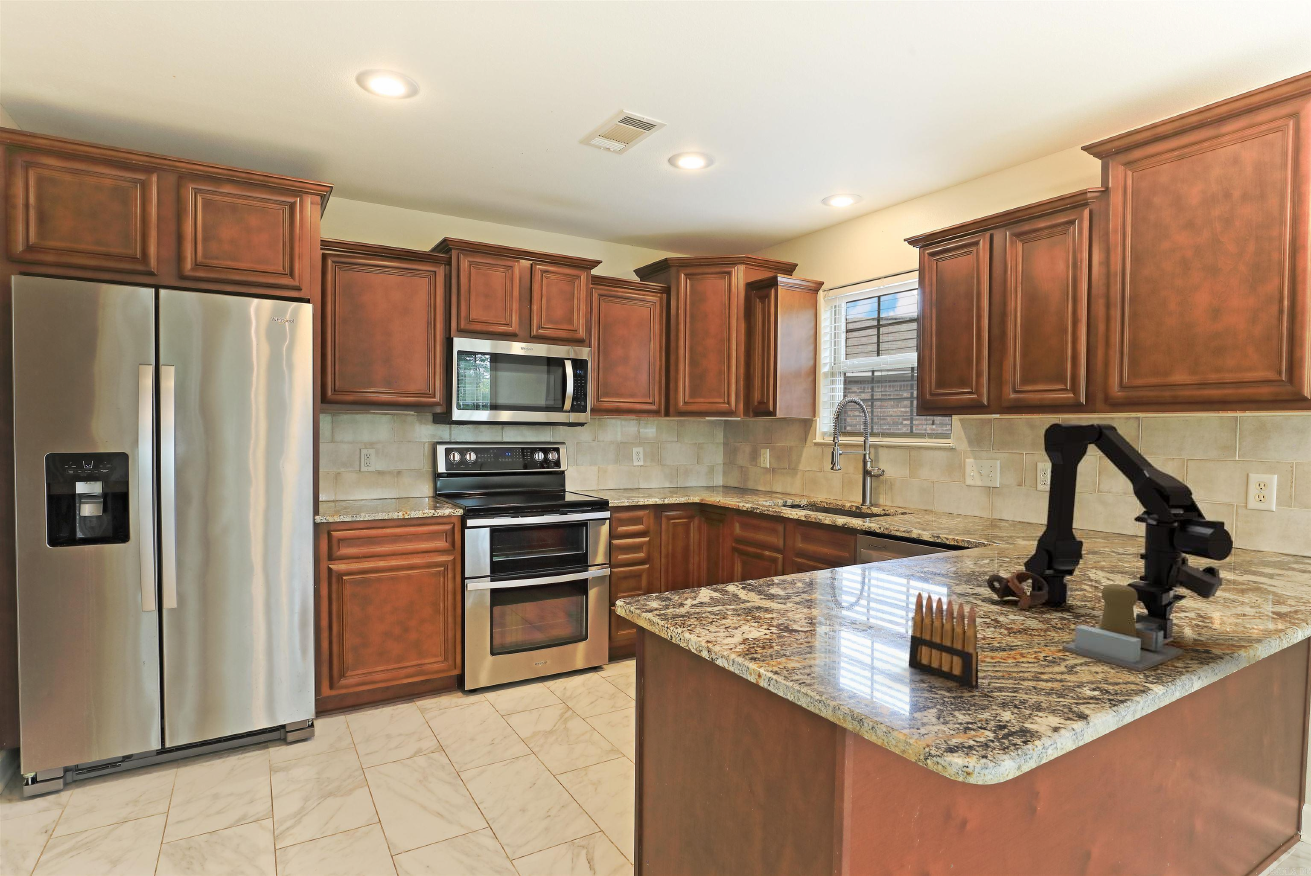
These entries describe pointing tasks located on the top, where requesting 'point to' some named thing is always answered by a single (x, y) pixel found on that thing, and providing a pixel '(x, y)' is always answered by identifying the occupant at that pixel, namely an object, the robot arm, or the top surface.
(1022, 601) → the brown twisted loop knot
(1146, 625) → the vise jaw
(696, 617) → the top surface
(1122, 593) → the cork
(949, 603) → the ammunition clip
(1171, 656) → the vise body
